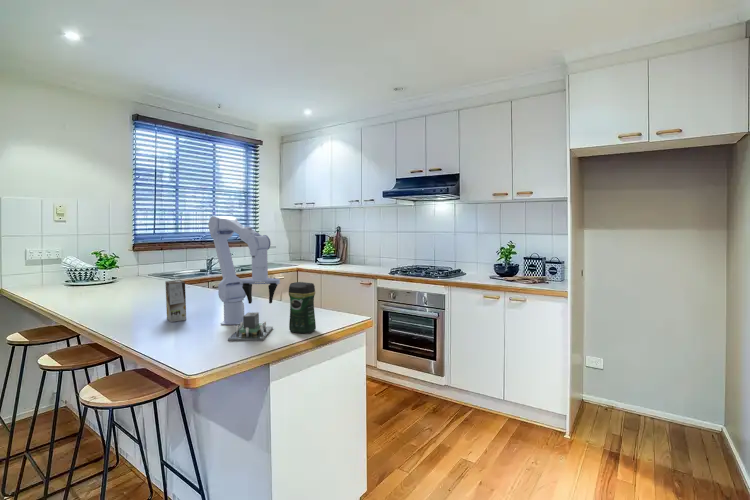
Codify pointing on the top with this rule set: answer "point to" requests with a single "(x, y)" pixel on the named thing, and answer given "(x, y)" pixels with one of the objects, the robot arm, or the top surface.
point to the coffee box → (175, 300)
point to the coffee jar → (302, 307)
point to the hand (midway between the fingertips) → (260, 303)
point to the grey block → (251, 322)
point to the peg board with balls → (250, 336)
